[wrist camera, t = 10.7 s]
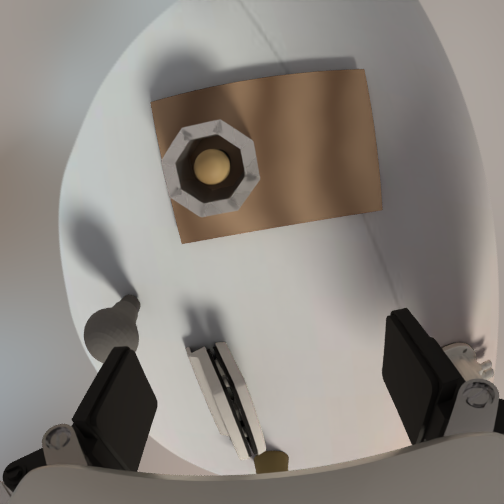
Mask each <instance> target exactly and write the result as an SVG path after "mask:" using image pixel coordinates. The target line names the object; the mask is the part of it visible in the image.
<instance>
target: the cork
mask: <svg viewBox="0 0 504 504" xmlns="http://www.w3.org/2000/svg"><path fill="white" fill-rule="evenodd" d="M288 460H289V457H288V455H287V454H286V453H284V452H281V451H265V452H263V453H261V454H260V455H256V456H255V457H254V464H255V469H256V474H263V473H274V472H284V471H288Z"/></svg>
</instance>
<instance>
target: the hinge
mask: <svg viewBox="0 0 504 504" xmlns="http://www.w3.org/2000/svg"><path fill="white" fill-rule="evenodd" d="M215 344H216V346H215V347H213V349H214V352H215V355H216V358H217V359H216V360H214V358H213V356H212V353H211V351H210V349H206V348H205V347H203V348H201V349H199V350H197V351H195V352H193V353H191V350H190V348H189V347H187V348H186V351H187V354H188V357H189V360H190V362H191V365H192V367H193V370H194V373H195V375H196V378H197V380H198V383H199V385H200V387H201V390H202V392H203V395H204V397H205V400H206V402H207V404H208V407H209V409H210V411H211V414H212V416H213V418H214V420H215V423H216V425H217V427H218V429H219V432H220V434H221V435H226V436H229V437H230V439H231V441H232V443H233V445H234V447H235V450H236V452H237V454H238V456H239V458H240V460H245V459H249V457H250V456H252V455H251V452H250V449H249V446H248V443H249V445H250V447H251V449H252V451H253V453H254V454H258V455H260V454H261V453H263V452H264V451H266V445H265V440H264V436H263V433H262V429H261V426H260V423H259V420H258V417H257V414H256V411H255V408H254V405H253V402H252V399H251V396H250V393H249V390H248V388H247V385H246V382H245V380H244V378H243V376H242V374H241V372H240V370H239V368H238V366H237V364H236V362H235V360H234V358H233V356H232V354H231V352H230V350H229V348H228V346H227V344H226V342H218V343H215ZM227 387H230V388H231V390H232V393H233V395H234V400H233V401H232V400H231V398H230V395H229V393H228V390H227ZM239 420H240V421H239ZM246 439H247V440H246ZM247 441H248V443H247Z"/></svg>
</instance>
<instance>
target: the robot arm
mask: <svg viewBox="0 0 504 504" xmlns="http://www.w3.org/2000/svg"><path fill="white" fill-rule="evenodd" d="M491 366H492V362H491V361H490V360H487V361H485V362H483V363H481V364H479V363H478V362H477V361H476V354H475V351H474V350H473V349H472V348H471V347H470V346H469V345H468V344H465V343H454V344H451V345H448V346H445V347H443V348H441V347H440V345H439V344H438V343H437V341H436V340H435V339H434V338H432V337H429V336H428V334H427V333H426V332H425V330H424V329H423V328H422V326H421V325H420V324H419V323H418V321H417V320H416V319H415V317H414V316H413V315H412V314H411V312H410V311H409V310H408V309H407V308H403V309H398V310H394V311H392V312H391V314H390V316H387V318H386V332H385V346H384V357H383V367H382V376H383V380H384V382H385V384H386V387H387V389H388V391H389V393H390V395H391V398H392V400H393V402H394V404H395V407H396V409H397V411H398V413H399V416H400V418H401V420H402V423H403V425H404V427H405V430H406V432H407V434H408V437H409V439H410V442H411V444H412V445H411V446H408V447H405V448H401V449H397V450H394V451H390V452H386V453H382V454H378V455H374V456H370V457H366V458H361V459H357V460H352V461H348V462H343V463H338V464H332V465H327V466H321V467H314V468H308V469H300V470H293V471H284V472H274V473H263V474H248V475H223V476H195V475H193V476H192V475H169V474H155V473H154V474H153V473H143V472H137V470H138V467H139V463H140V460H141V457H142V454H143V450H144V447H145V444H146V441H147V438H148V434H149V431H150V428H151V425H152V422H153V419H154V416H155V412H156V409H157V399H156V397H155V395H154V393H153V391H152V388H151V386H150V384H149V382H148V380H147V378H146V376H145V374H144V371H143V369H142V367H141V365H140V362H139V360H138V358H137V356H136V353H135V351H134V350H131V349H130V348H129V347H128V346H120V347H114V348H113V349H112V350H111V352H110V354H109V355H108V357H107V359H106V360H105V362H104V364H103V365H102V367H101V369H100V370H99V372H98V374H97V376H96V377H95V379H94V381H93V382H92V384H91V386H90V388H89V389H88V391H87V393H86V395H85V396H84V398H83V400H82V402H81V403H80V405H79V407H78V409H77V411H76V412H75V414H74V416H73V418H72V421H73V422H74V423H73V425H72V427H71V426H70V425H67V424H58V425H55V426H53V427H51V428H50V429H49V430H48V431H46V433H45V434H44V436H43V439H42V447H43V448H41V449H39V450H37V451H35V452H33V453H31V454H29V455H27V456H24V457H22V458H20V459H18V460H16V461H14V462H12V463H10V464H9V465H8V466H7V467H6V469H5V471H4V473H3V482H1V481H0V504H504V400H503V399H499V392H498V390H497V387H496V386H495V385H494V384H493V383H491V382H490V381H488V379H490V378H492V377H493V376H494V371H493V369H492V368H491Z"/></svg>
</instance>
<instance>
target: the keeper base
mask: <svg viewBox="0 0 504 504" xmlns="http://www.w3.org/2000/svg"><path fill="white" fill-rule="evenodd" d="M150 103H151V108H152V113H153V119H154V124H155V129H156V134H157V139H158V144H159V149H160V153H161V158H163V157H164V155H165V153H166V152H167V150H168V149H169V147H170V145H171V144H172V142H173V141H174V139H175V138H176V136H177V134H178V133H179V131H180V130H181V128H183V127H188V126H192V125H196V124H201V123H205V122H210V121H215V120H220V119H221V120H222V121H224V122H226V123H227V124H229V125H230V126H232V127H233V128H235V129H236V130H238V131H239V132H241V133H242V134H244V135H245V136H247V137H248V138H250V139H251V140H253V142H254V147H255V152H256V158H257V164H258V169H259V175H260V180H259V182H258V183H257V185H256V186H255V187H254V189H253V190H252V192H251V193H250V194H249V196H248V197H247V199H246V200H245V201H244V203H243V204H242V206H241V207H240V209H239V210H238V211H233V212H227V213H222V214H217V215H211V216H206V217H199V216H198V215H196V214H195V213H193V212H192V211H190V210H189V209H187V208H185V207H184V206H182V205H181V204H179V203H178V202H176V201H175V200H173V199H172V198H171V202H172V206H173V211H174V215H175V219H176V223H177V227H178V231H179V235H180V239H181V242H182V244H185V243H191V242H196V241H201V240H207V239H213V238H218V237H224V236H229V235H235V234H241V233H246V232H252V231H258V230H264V229H269V228H275V227H281V226H287V225H293V224H299V223H305V222H311V221H317V220H323V219H329V218H336V217H342V216H348V215H355V214H361V213H367V212H374V211H380V210H382V197H381V184H380V173H379V163H378V153H377V145H376V137H375V130H374V122H373V116H372V109H371V103H370V97H369V92H368V86H367V81H366V76H365V71H364V69H354V70H333V71H318V72H306V73H296V74H287V75H279V76H271V77H264V78H258V79H251V80H245V81H239V82H234V83H228V84H223V85H218V86H213V87H209V88H204V89H200V90H195V91H191V92H187V93H183V94H179V95H175V96H171V97H167V98H164V99H160V100H156V101H153V102H150ZM190 161H191V165H192V170H193V175H194V178H195V179H196V180H198V181H200V182H201V183H203V184H204V185H206V186H207V187H209V188H210V189H212V190H214V189H219V188H224V187H229V186H234V184H235V183H236V181H237V180H238V179H239V177H240V176H241V174H242V173H243V171H244V165H243V160H242V155H241V149H239V148H238V147H236V146H235V145H233V144H232V143H230V142H229V141H227V140H226V139H224V138H223V137H221V136H220V135H218V136H213V137H208V138H204V139H201V141H200V142H199V144H198V145H197V147H196V148H195V150H194V151H193V153H192V154H191V156H190Z"/></svg>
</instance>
